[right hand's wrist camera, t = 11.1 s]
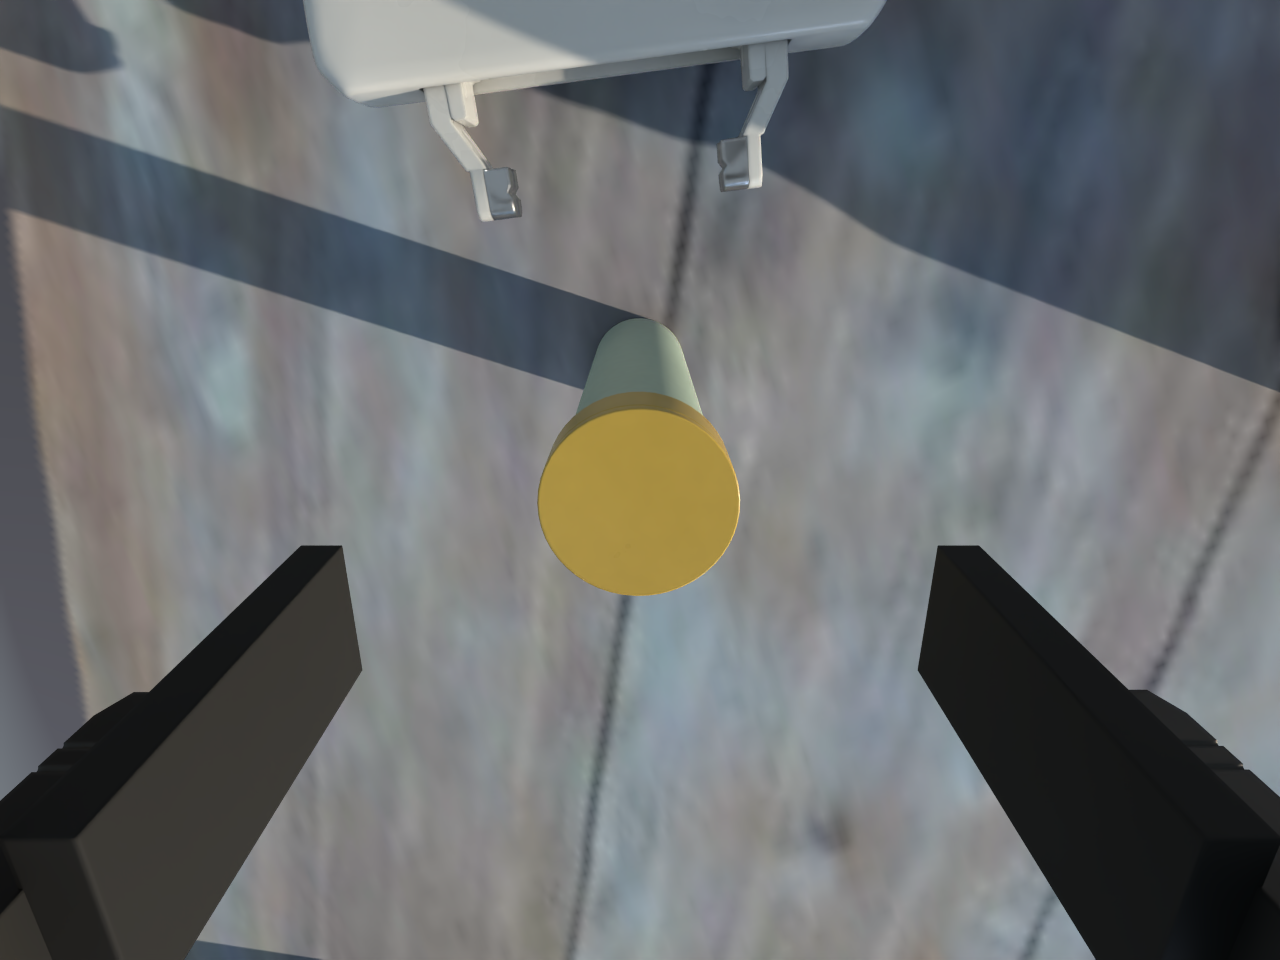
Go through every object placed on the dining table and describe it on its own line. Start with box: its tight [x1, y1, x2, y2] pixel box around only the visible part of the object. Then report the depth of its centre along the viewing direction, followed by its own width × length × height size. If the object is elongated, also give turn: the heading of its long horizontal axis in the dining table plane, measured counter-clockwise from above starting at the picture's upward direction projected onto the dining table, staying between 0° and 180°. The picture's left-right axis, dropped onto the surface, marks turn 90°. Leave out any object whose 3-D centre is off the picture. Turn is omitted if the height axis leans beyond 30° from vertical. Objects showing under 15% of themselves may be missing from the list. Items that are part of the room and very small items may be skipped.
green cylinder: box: [576, 318, 702, 414], centre depth 27 cm, size 4×4×19 cm
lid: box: [537, 392, 740, 596], centre depth 19 cm, size 5×5×2 cm
